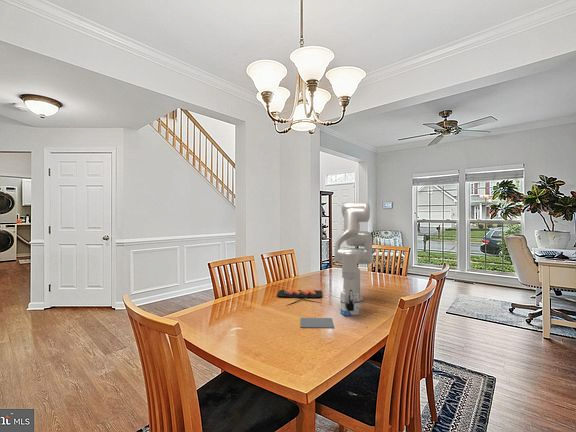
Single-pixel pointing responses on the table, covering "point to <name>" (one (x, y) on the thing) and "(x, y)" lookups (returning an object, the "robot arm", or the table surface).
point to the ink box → (344, 303)
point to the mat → (316, 323)
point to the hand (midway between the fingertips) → (349, 308)
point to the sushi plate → (300, 294)
